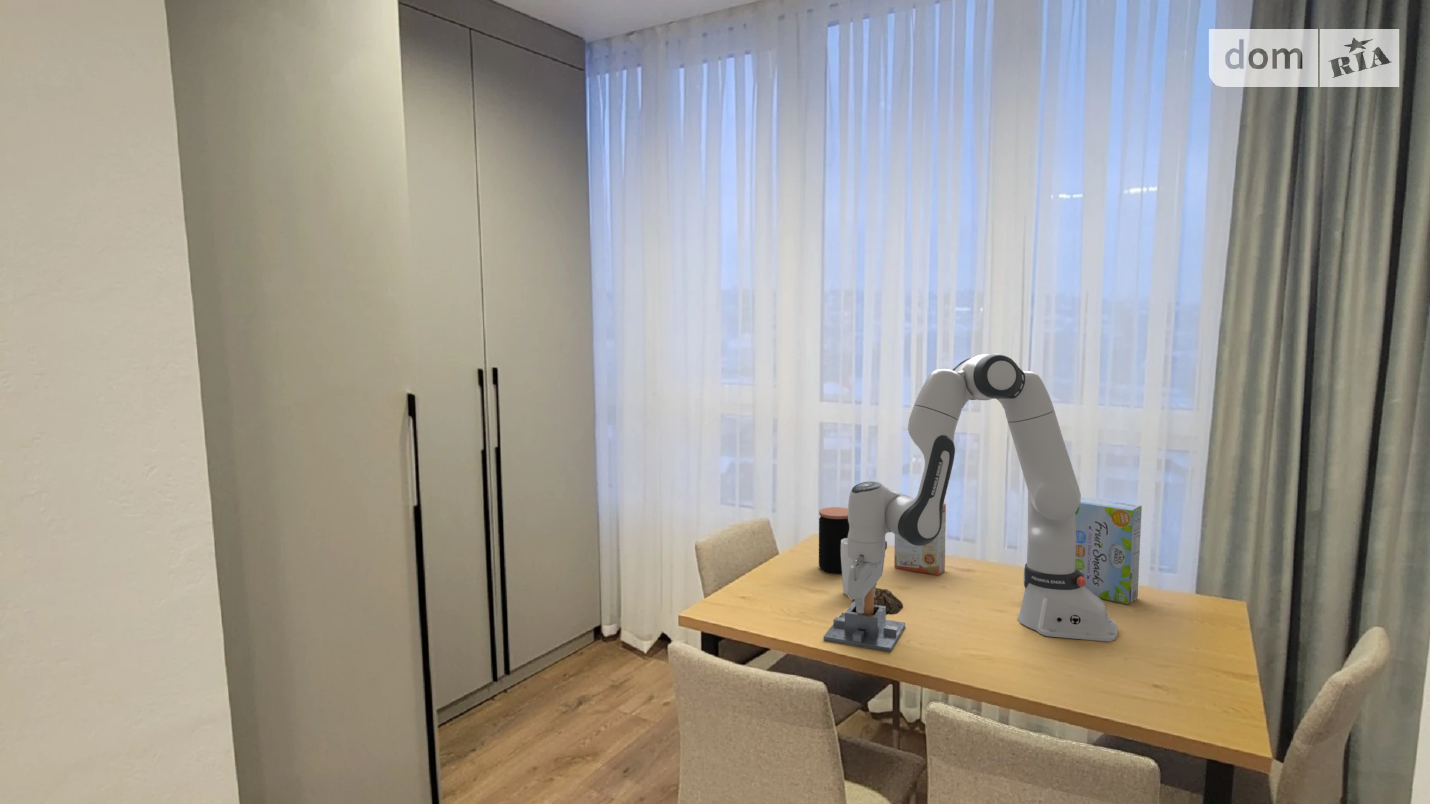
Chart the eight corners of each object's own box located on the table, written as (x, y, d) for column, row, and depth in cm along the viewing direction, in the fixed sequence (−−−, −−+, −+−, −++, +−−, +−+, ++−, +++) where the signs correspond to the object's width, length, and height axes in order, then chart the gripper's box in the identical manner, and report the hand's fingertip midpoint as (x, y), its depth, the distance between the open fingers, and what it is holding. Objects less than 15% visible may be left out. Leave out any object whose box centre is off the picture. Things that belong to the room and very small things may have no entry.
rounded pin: (875, 627, 188) (875, 584, 187) (871, 633, 185) (871, 589, 183) (859, 624, 190) (859, 581, 189) (854, 630, 186) (855, 587, 185)
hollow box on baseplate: (905, 626, 191) (905, 603, 190) (890, 652, 177) (891, 627, 176) (842, 616, 198) (842, 593, 197) (823, 640, 183) (823, 616, 183)
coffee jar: (859, 567, 236) (860, 509, 234) (845, 577, 227) (846, 517, 225) (827, 561, 242) (827, 505, 240) (812, 571, 233) (813, 513, 231)
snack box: (1139, 597, 209) (1144, 504, 206) (1129, 606, 202) (1134, 511, 199) (1056, 579, 223) (1060, 492, 221) (1045, 587, 217) (1048, 498, 214)
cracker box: (945, 570, 232) (947, 502, 230) (938, 576, 227) (940, 507, 225) (900, 562, 240) (901, 497, 238) (893, 568, 235) (894, 501, 233)
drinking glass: (866, 597, 210) (867, 544, 209) (842, 598, 211) (842, 544, 209) (862, 589, 217) (863, 537, 215) (838, 589, 217) (839, 537, 216)
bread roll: (847, 600, 210) (847, 582, 209) (889, 595, 213) (889, 578, 212) (867, 617, 198) (868, 599, 197) (911, 612, 201) (912, 594, 200)
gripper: (868, 564, 174) (867, 622, 176) (888, 540, 193) (888, 593, 194) (841, 560, 177) (840, 618, 178) (863, 537, 195) (863, 589, 197)
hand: (865, 605), depth 186 cm, fingers open, 8 cm apart
